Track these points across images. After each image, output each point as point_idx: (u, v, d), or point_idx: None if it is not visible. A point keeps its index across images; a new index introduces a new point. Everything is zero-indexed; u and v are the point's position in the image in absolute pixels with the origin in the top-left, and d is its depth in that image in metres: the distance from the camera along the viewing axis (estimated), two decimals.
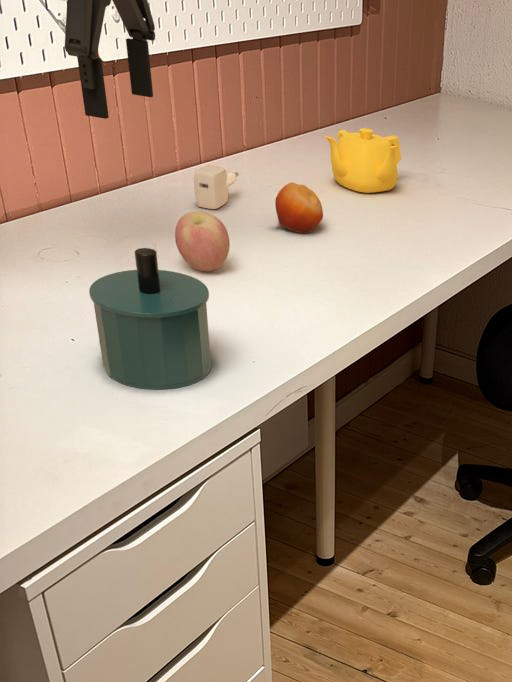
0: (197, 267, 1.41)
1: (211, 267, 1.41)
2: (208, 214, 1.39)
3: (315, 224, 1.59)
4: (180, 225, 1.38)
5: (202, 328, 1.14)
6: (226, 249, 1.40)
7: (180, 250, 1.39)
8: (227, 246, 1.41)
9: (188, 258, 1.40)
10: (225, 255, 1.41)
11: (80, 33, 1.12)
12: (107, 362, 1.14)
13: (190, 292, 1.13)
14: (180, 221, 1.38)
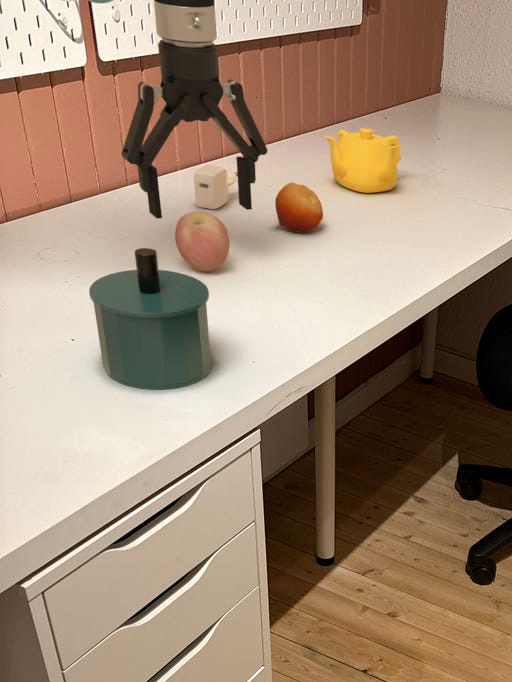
0: (197, 267, 1.41)
1: (211, 267, 1.41)
2: (208, 214, 1.39)
3: (315, 224, 1.59)
4: (180, 225, 1.38)
5: (202, 328, 1.14)
6: (226, 249, 1.40)
7: (180, 250, 1.39)
8: (227, 246, 1.41)
9: (188, 258, 1.40)
10: (225, 255, 1.41)
11: (130, 145, 1.27)
12: (107, 362, 1.14)
13: (190, 292, 1.13)
14: (180, 221, 1.38)
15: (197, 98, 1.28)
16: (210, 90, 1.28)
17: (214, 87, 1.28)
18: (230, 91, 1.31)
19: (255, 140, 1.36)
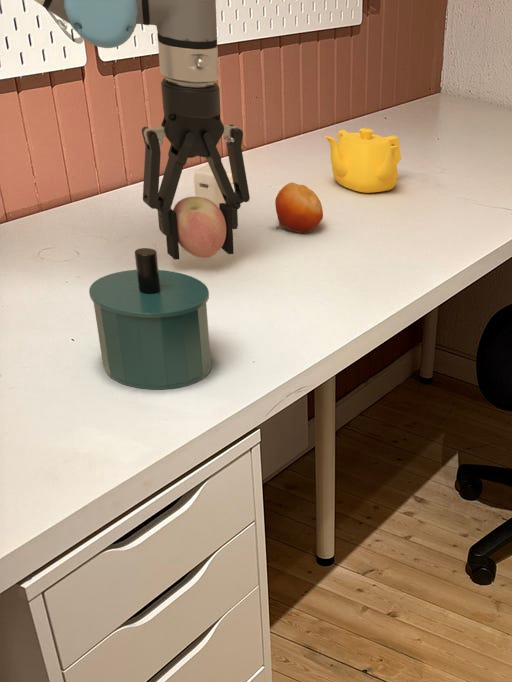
0: (193, 253, 1.40)
1: (207, 253, 1.40)
2: (205, 199, 1.38)
3: (315, 224, 1.59)
4: (177, 210, 1.36)
5: (202, 328, 1.14)
6: (222, 235, 1.39)
7: None
8: (224, 232, 1.39)
9: (184, 244, 1.38)
10: (222, 241, 1.40)
11: (148, 191, 1.32)
12: (107, 362, 1.14)
13: (190, 292, 1.13)
14: (176, 206, 1.37)
15: (198, 133, 1.31)
16: (211, 127, 1.31)
17: (215, 125, 1.31)
18: (230, 134, 1.34)
19: (241, 186, 1.38)
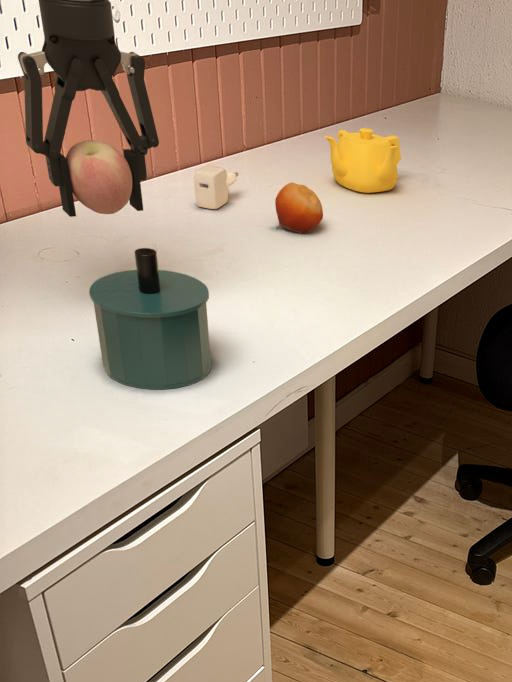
0: (93, 208, 1.18)
1: (109, 208, 1.18)
2: (104, 143, 1.15)
3: (315, 224, 1.59)
4: (69, 156, 1.14)
5: (202, 328, 1.14)
6: (126, 186, 1.17)
7: None
8: (128, 183, 1.17)
9: (81, 197, 1.16)
10: (126, 194, 1.18)
11: (30, 132, 1.10)
12: (107, 362, 1.14)
13: (190, 292, 1.13)
14: (69, 151, 1.15)
15: (88, 60, 1.09)
16: (104, 54, 1.09)
17: (109, 50, 1.09)
18: (129, 62, 1.12)
19: (147, 127, 1.16)
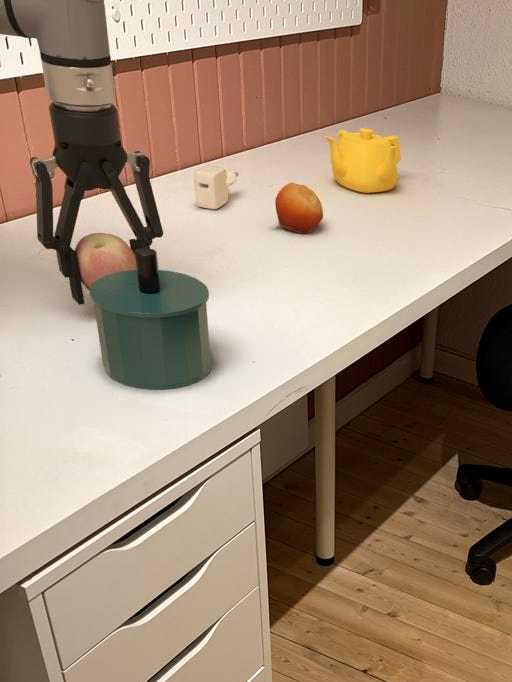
0: None
1: None
2: (111, 236, 1.21)
3: (315, 224, 1.59)
4: (78, 249, 1.20)
5: (202, 328, 1.14)
6: None
7: None
8: None
9: (89, 286, 1.22)
10: None
11: (41, 229, 1.16)
12: (107, 362, 1.14)
13: (190, 292, 1.13)
14: (78, 244, 1.21)
15: (96, 162, 1.15)
16: (111, 156, 1.15)
17: (116, 152, 1.15)
18: (135, 162, 1.18)
19: (151, 220, 1.22)
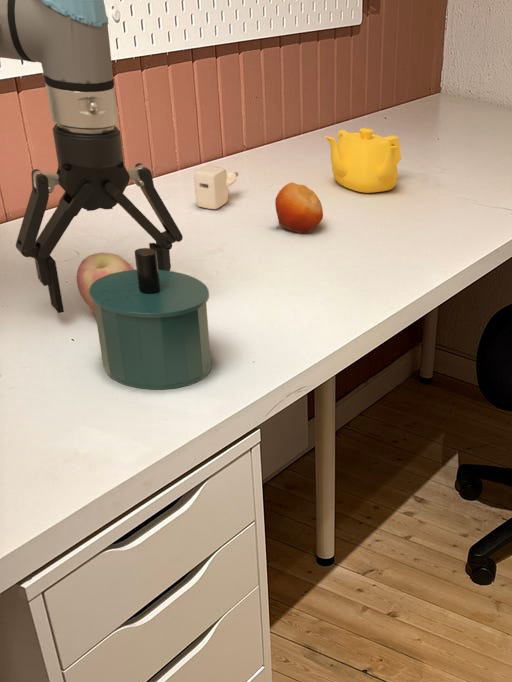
0: None
1: None
2: (114, 256, 1.23)
3: (315, 224, 1.59)
4: (81, 269, 1.22)
5: (202, 328, 1.14)
6: None
7: (82, 296, 1.24)
8: None
9: (92, 305, 1.24)
10: None
11: (23, 237, 1.15)
12: (107, 362, 1.14)
13: (190, 292, 1.13)
14: (81, 264, 1.22)
15: (99, 185, 1.16)
16: (114, 177, 1.17)
17: (118, 173, 1.17)
18: (137, 176, 1.19)
19: (168, 227, 1.24)
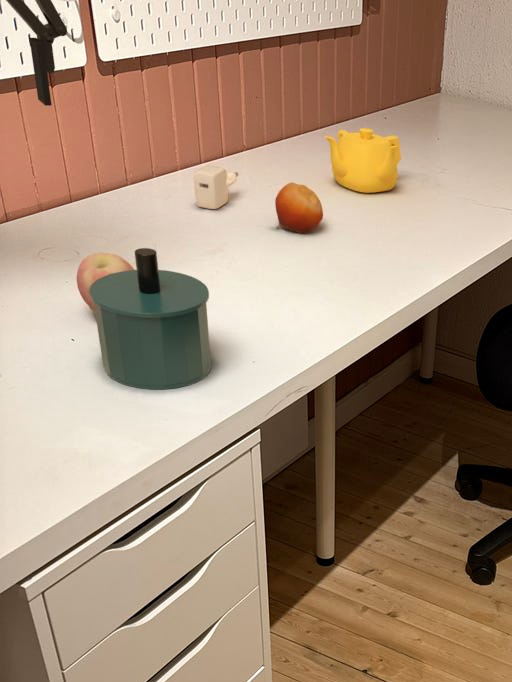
0: None
1: None
2: (114, 256, 1.23)
3: (315, 224, 1.59)
4: (81, 269, 1.22)
5: (202, 328, 1.14)
6: None
7: (82, 296, 1.24)
8: None
9: (92, 305, 1.24)
10: None
11: None
12: (107, 362, 1.14)
13: (190, 292, 1.13)
14: (81, 264, 1.22)
15: None
16: None
17: None
18: None
19: (49, 16, 1.10)
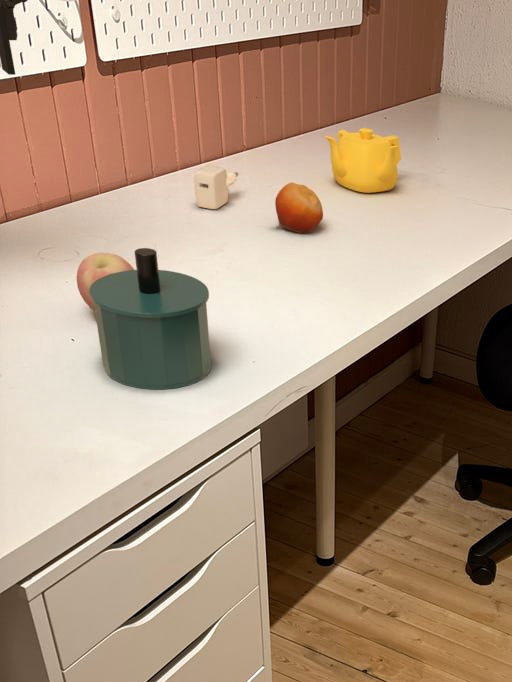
0: None
1: None
2: (114, 256, 1.23)
3: (315, 224, 1.59)
4: (81, 269, 1.22)
5: (202, 328, 1.14)
6: None
7: (82, 296, 1.24)
8: None
9: (92, 305, 1.24)
10: None
11: None
12: (107, 362, 1.14)
13: (190, 292, 1.13)
14: (81, 264, 1.22)
15: None
16: None
17: None
18: None
19: None
